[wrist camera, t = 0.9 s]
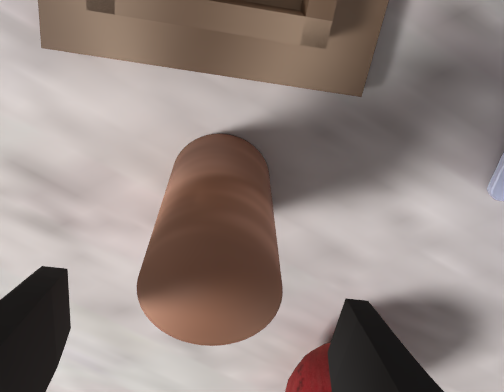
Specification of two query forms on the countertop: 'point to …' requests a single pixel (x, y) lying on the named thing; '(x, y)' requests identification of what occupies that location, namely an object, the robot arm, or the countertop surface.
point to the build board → (227, 37)
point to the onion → (311, 373)
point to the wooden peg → (213, 246)
